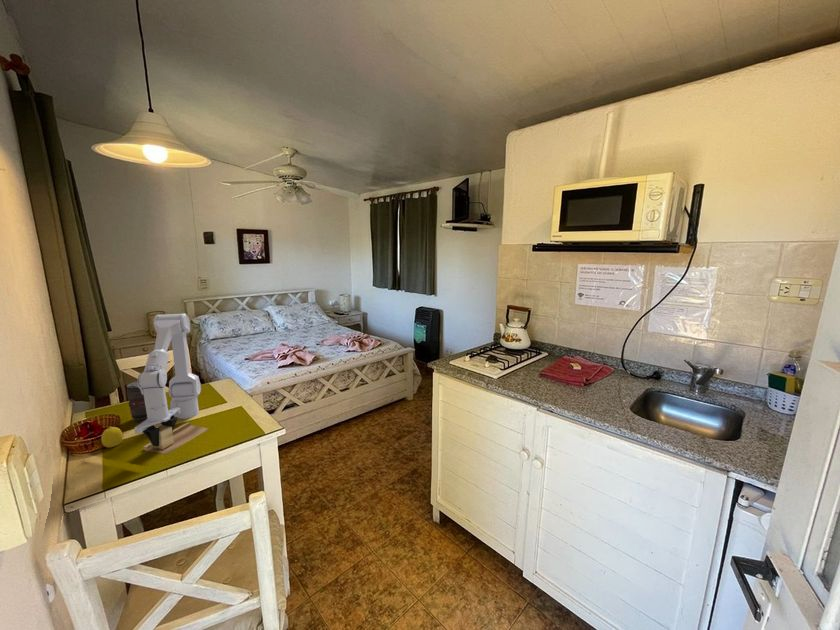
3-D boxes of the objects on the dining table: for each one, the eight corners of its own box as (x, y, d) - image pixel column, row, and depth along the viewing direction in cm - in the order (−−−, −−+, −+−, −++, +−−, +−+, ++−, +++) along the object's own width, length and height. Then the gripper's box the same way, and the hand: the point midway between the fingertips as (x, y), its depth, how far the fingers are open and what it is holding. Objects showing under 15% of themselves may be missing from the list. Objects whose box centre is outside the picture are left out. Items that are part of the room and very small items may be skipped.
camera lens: (146, 423, 137) (140, 388, 134) (126, 423, 137) (120, 387, 134) (162, 413, 145) (156, 380, 142) (143, 413, 145) (137, 379, 142)
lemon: (107, 454, 116) (102, 432, 115) (101, 449, 119) (96, 428, 118) (127, 446, 121) (123, 425, 119) (121, 442, 124) (117, 421, 122)
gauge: (151, 446, 117) (148, 428, 116) (162, 440, 121) (159, 422, 120) (163, 449, 116) (160, 430, 115) (174, 442, 120) (171, 424, 119)
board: (144, 453, 117) (142, 446, 116) (188, 428, 133) (187, 422, 132) (167, 458, 114) (166, 450, 114) (210, 432, 130) (209, 425, 130)
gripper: (143, 416, 108) (150, 455, 111) (185, 397, 122) (190, 432, 124) (126, 413, 110) (133, 452, 112) (169, 395, 123) (174, 430, 126)
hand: (162, 441), depth 119 cm, fingers closed on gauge, 4 cm apart
